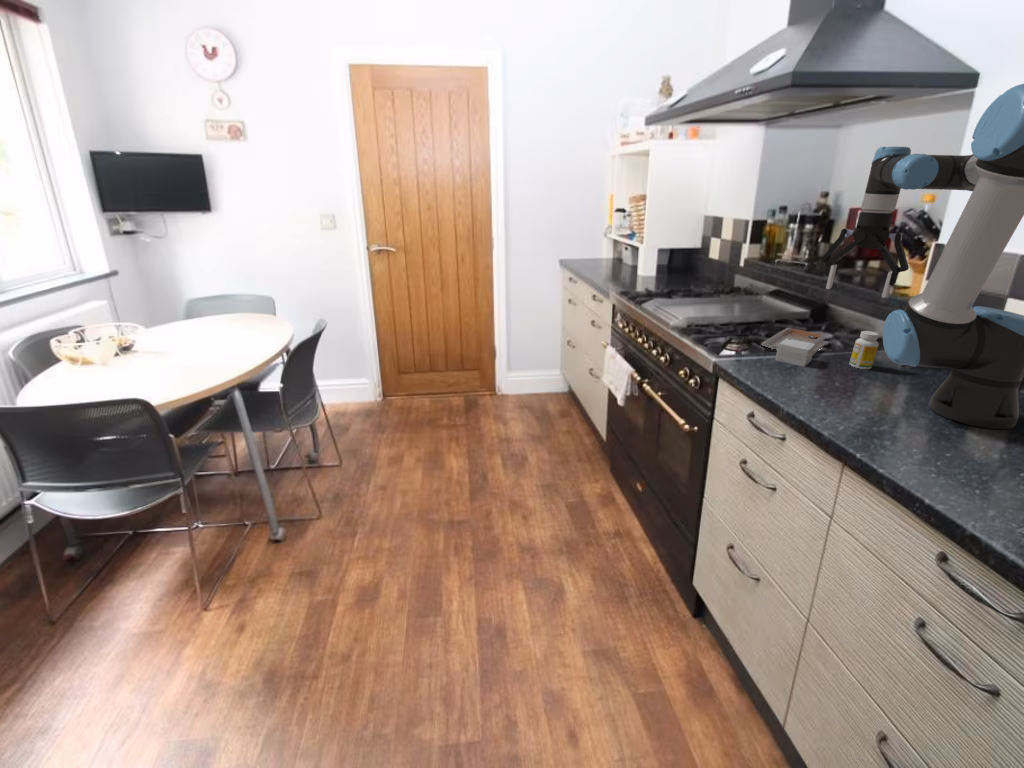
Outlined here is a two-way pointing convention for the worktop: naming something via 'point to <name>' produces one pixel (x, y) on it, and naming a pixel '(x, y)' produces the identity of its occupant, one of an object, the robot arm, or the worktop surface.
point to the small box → (795, 352)
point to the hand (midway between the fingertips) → (855, 292)
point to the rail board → (795, 338)
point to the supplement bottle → (864, 350)
